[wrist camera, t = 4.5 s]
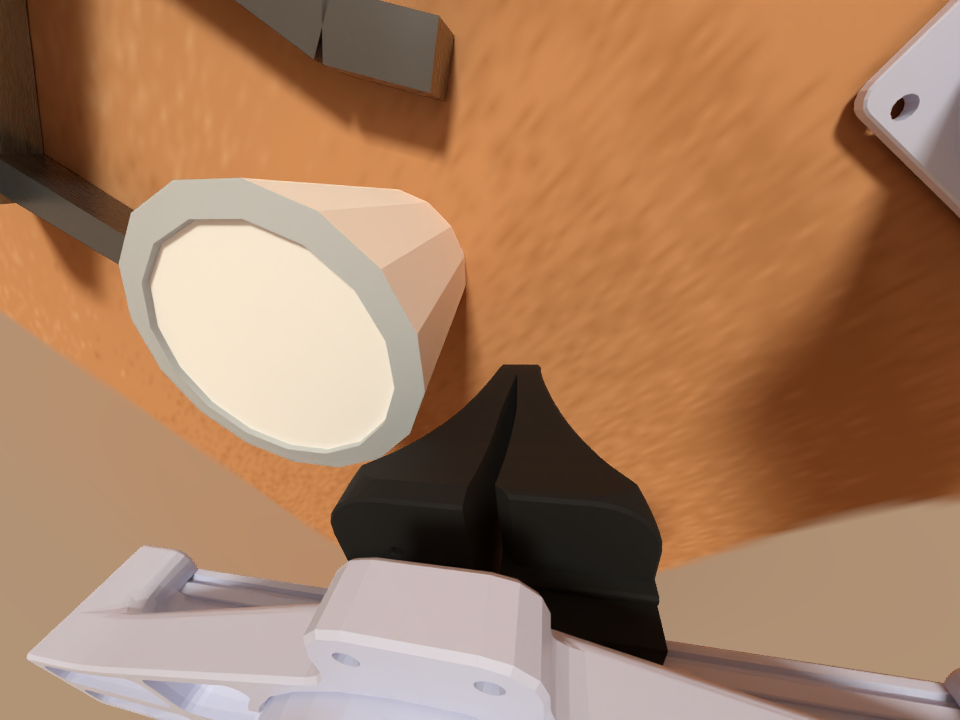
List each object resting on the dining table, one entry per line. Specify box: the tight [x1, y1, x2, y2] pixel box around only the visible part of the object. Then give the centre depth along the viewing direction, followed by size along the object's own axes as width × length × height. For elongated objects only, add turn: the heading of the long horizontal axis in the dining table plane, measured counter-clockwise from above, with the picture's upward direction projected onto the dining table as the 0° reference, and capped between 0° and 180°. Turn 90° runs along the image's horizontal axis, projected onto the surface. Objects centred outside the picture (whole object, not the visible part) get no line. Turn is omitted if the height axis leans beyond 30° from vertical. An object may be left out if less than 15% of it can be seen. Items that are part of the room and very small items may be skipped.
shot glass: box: [119, 178, 466, 467], centre depth 10 cm, size 7×7×7 cm
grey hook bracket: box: [0, 0, 454, 264], centre depth 10 cm, size 15×14×4 cm
